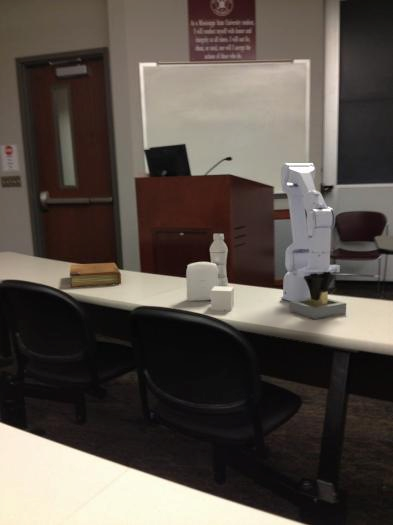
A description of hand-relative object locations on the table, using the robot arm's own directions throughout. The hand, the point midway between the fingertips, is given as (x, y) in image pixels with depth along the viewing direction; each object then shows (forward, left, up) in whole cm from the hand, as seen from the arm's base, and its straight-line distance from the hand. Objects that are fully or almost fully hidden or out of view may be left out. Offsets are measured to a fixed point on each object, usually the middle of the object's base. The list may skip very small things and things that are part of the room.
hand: (317, 299), depth 126 cm
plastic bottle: (-40, -8, -4) cm, 41 cm away
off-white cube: (-19, -20, -4) cm, 28 cm away
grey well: (0, 0, -4) cm, 4 cm away
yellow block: (0, 0, -3) cm, 3 cm away
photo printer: (-31, -20, -4) cm, 37 cm away
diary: (-82, -40, -5) cm, 91 cm away
